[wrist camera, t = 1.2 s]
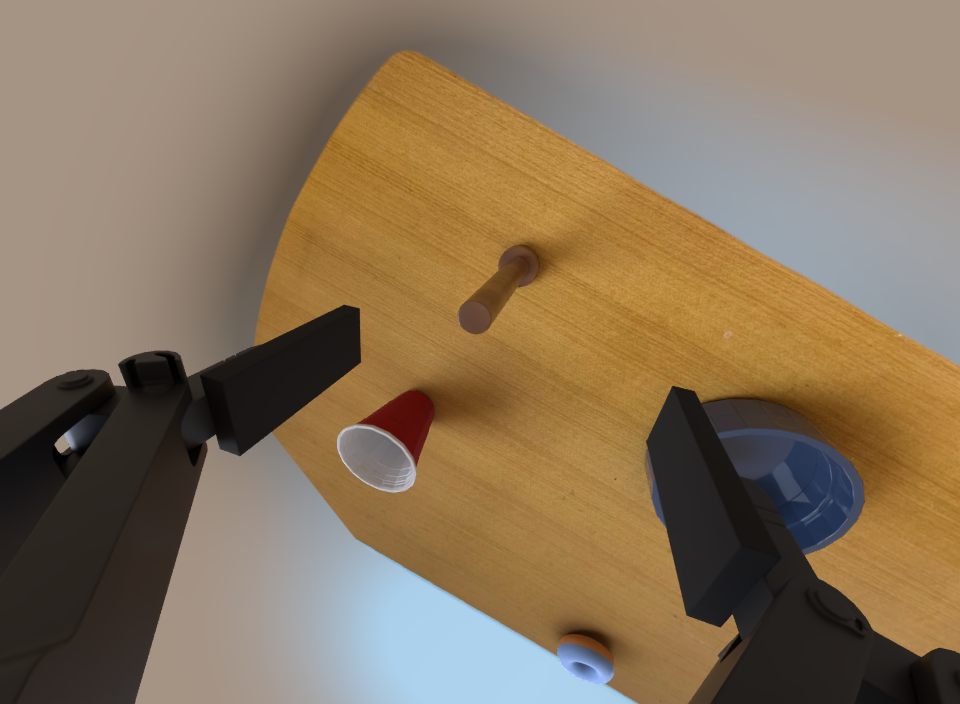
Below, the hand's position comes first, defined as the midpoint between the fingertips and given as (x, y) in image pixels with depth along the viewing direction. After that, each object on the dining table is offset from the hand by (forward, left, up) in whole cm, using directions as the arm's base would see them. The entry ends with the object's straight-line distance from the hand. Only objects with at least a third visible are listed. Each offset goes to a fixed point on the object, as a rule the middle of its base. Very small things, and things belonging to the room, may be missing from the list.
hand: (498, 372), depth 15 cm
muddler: (+3, -1, -27) cm, 27 cm away
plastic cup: (+28, +7, -27) cm, 40 cm away
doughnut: (+34, +63, -27) cm, 76 cm away
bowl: (-4, +33, -27) cm, 42 cm away
